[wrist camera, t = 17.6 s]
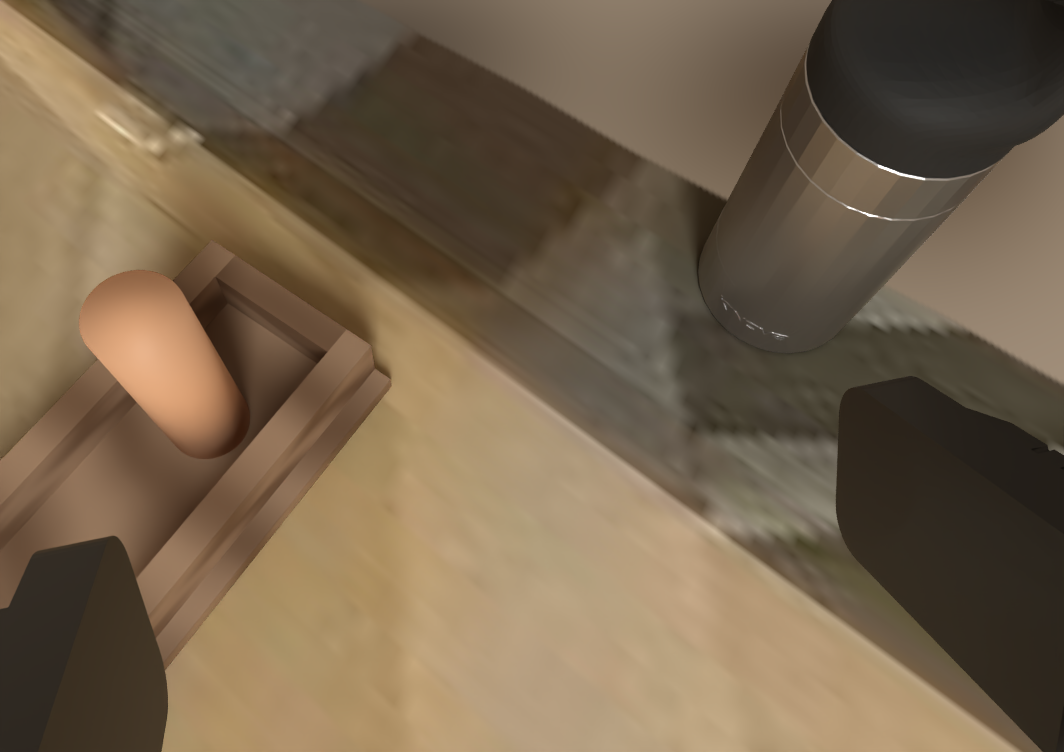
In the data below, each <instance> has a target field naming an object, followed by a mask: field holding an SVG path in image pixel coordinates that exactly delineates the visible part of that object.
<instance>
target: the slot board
mask: <svg viewBox="0 0 1064 752" xmlns="http://www.w3.org/2000/svg"><path fill="white" fill-rule="evenodd" d="M173 282H174V283H175V284H176V285H177V286H178V287H179V288H180V290H181V291H182V293H183V294H184V296H185V298H186V300H187V301H188V303H189V305H190V306H191V308H192V310H193V312H194V313H195V315H196V317H197V318H198V320H199V322H200V324H201V325H202V327H203V329H204V330H205V332H206V334H207V336H208V337H209V339H210V341H211V342H212V344H213V346H214V348H215V349H216V351H217V353H218V354H219V356H220V358H221V360H222V361H223V363H224V365H225V366H226V368H227V370H228V372H229V373H230V375H231V377H232V378H233V380H234V382H235V384H236V385H237V387H238V389H239V390H240V392H241V394H242V396H243V397H244V399H245V401H246V403H247V405H248V407H249V411H250V425H249V429H248V431H247V434H246V435H245V437H244V439H243V440H242V442H241V443H240V444H239V445H238V446H237V447H236V448H235V449H233V450H232V451H230V452H229V453H227V454H225V455H223V456H220V457H217V458H213V459H198V458H194V457H190V456H188V455H186V454H184V453H183V452H181V451H180V450H179V449H178V448H177V447H176V446H175V445H174V444H173V443H172V441H171V440H170V439H169V438H168V437H167V436H166V435H165V434H164V432H163V431H162V430H161V429H160V428H159V427H158V426H157V425H156V423H155V422H154V421H153V420H152V419H151V418H150V417H149V416H148V414H147V413H146V412H145V411H144V410H143V409H142V408H141V407H140V405H139V404H138V403H137V402H136V401H135V400H134V399H133V398H132V396H131V395H130V394H129V393H128V392H127V391H126V390H125V388H124V387H123V386H122V385H121V384H120V383H119V382H118V381H117V379H116V378H115V377H114V376H113V375H112V374H111V373H110V372H109V370H108V369H107V368H106V367H105V366H104V365H103V364H102V363H101V361H100V360H99V359H97V360H96V361H95V362H94V363H93V364H92V365H91V367H90V368H89V369H88V370H87V371H86V372H85V373H84V374H83V375H82V376H81V377H80V378H79V379H78V380H77V381H76V382H75V383H74V384H73V385H72V386H71V387H70V388H69V389H68V391H67V392H66V393H65V394H64V395H63V396H62V397H61V398H60V399H59V400H58V401H57V402H56V403H55V404H54V405H53V406H52V407H51V408H50V409H49V410H48V411H47V412H46V413H45V414H44V416H43V417H42V418H41V419H40V420H39V421H38V422H37V423H36V424H35V425H34V426H33V427H32V428H31V429H30V430H29V431H28V432H27V433H26V434H25V435H24V436H23V437H22V438H21V440H20V441H19V442H18V443H17V444H16V445H15V446H14V447H13V448H12V449H11V450H10V451H9V452H8V453H7V454H6V455H5V456H4V457H3V458H2V459H1V460H0V609H2V608H7V607H9V605H10V602H11V600H12V598H13V596H14V594H15V591H16V589H17V587H18V585H19V583H20V580H21V578H22V576H23V574H24V571H25V569H26V567H27V565H28V563H29V560H30V558H31V557H32V555H33V554H34V553H35V552H36V551H39V550H44V549H49V548H54V547H59V546H64V545H69V544H74V543H79V542H84V541H89V540H94V539H98V538H103V537H108V536H116V537H118V538H119V539H120V540H121V542H122V543H123V545H124V547H125V549H126V551H127V554H128V556H129V559H130V562H131V565H132V568H133V571H134V574H135V577H136V580H137V583H138V586H139V589H140V592H141V595H142V598H143V601H144V605H145V608H146V611H147V614H148V617H149V620H150V623H151V626H152V629H153V632H154V635H155V638H156V641H157V644H158V647H159V650H160V653H161V656H162V660H163V664H164V669H166V668H167V667H168V666H169V664H170V663H171V662H172V661H173V659H174V658H175V657H176V656H177V654H178V653H179V652H180V651H181V649H182V648H183V647H184V646H185V644H186V643H187V642H188V641H189V639H190V638H191V637H192V636H193V634H194V633H195V632H196V631H197V629H198V628H199V627H200V626H201V624H202V623H203V622H204V621H205V619H206V618H207V617H208V616H209V614H210V613H211V612H212V611H213V609H214V608H215V607H216V606H217V604H218V603H219V602H220V601H221V599H222V598H223V597H224V596H225V594H226V593H227V592H228V590H229V589H230V588H231V587H232V585H233V584H234V583H235V582H236V580H237V579H238V578H239V577H240V575H241V574H242V573H243V572H244V570H245V569H246V568H247V567H248V565H249V564H250V563H251V562H252V560H253V559H254V558H255V557H256V555H257V554H258V553H259V552H260V550H261V549H262V548H263V547H264V545H265V544H266V543H267V542H268V540H269V539H270V538H271V537H272V535H273V534H274V533H275V532H276V530H277V529H278V528H279V527H280V525H281V524H282V523H283V522H284V520H285V519H286V518H287V517H288V515H289V514H290V513H291V511H292V510H293V509H294V508H295V506H296V505H297V504H298V503H299V501H300V500H301V499H302V498H303V496H304V495H305V494H306V493H307V491H308V490H309V489H310V488H311V486H312V485H313V484H314V483H315V481H316V480H317V479H318V478H319V476H320V475H321V474H322V473H323V471H324V470H325V469H326V468H327V466H328V465H329V464H330V463H331V461H332V460H333V459H334V458H335V456H336V455H337V454H338V453H339V451H340V450H341V449H342V448H343V446H344V445H345V444H346V443H347V441H348V440H349V439H350V437H351V436H352V435H353V434H354V432H355V431H356V430H357V429H358V427H359V426H360V425H361V424H362V422H363V421H364V420H365V419H366V417H367V416H368V415H369V414H370V412H371V411H372V410H373V409H374V407H375V406H376V405H377V404H378V402H379V401H380V400H381V399H382V397H383V396H384V395H385V394H386V392H387V391H388V390H389V389H390V387H391V379H390V378H388V377H387V376H385V375H384V374H382V373H381V372H379V371H378V370H376V369H375V366H374V360H373V354H372V347H371V345H370V344H368V343H367V342H365V341H364V340H362V339H361V338H359V337H358V336H356V335H355V334H353V333H352V332H350V331H349V330H347V329H346V328H344V327H342V326H341V325H339V324H338V323H336V322H335V321H333V320H332V319H330V318H329V317H327V316H326V315H324V314H323V313H321V312H320V311H318V310H317V309H315V308H314V307H312V306H311V305H309V304H308V303H306V302H305V301H303V300H302V299H300V298H299V297H297V296H296V295H294V294H293V293H291V292H290V291H288V290H287V289H285V288H284V287H282V286H281V285H279V284H278V283H276V282H275V281H273V280H272V279H270V278H269V277H267V276H266V275H264V274H263V273H261V272H260V271H258V270H257V269H255V268H254V267H252V266H251V265H249V264H248V263H246V262H245V261H243V260H242V259H240V258H239V257H237V256H236V255H234V254H233V253H231V252H230V251H228V250H227V249H225V248H224V247H222V246H221V245H219V244H218V243H216V242H215V241H213V240H211V241H210V242H209V243H208V244H207V246H206V247H205V248H204V249H203V250H202V251H201V252H200V253H199V254H198V255H197V256H196V257H195V258H194V259H193V260H192V261H191V262H190V263H189V264H188V265H187V266H186V267H185V268H184V270H183V271H182V272H181V273H180V274H179V275H178V276H177V277H176V278H175V279H174V280H173Z"/></svg>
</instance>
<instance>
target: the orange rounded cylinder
mask: <svg viewBox="0 0 1064 752" xmlns="http://www.w3.org/2000/svg"><path fill="white" fill-rule="evenodd" d="M79 328H80V333H81V336H82V338H83V341H84V342H85V344H86V345H87V347H88V348H89V349H90V350H91V351H92V352H93V354H94V355H95V356H96V357H97V358H98V359H99V360H100V361H101V363H102V364H103V365H104V366H105V367H106V368H107V369H108V370H109V372H110V373H111V374H112V375H113V376H114V377H115V378H116V379H117V381H118V382H119V383H120V384H121V385H122V386H123V387H124V388H125V390H126V391H127V392H128V393H129V394H130V395H131V396H132V398H133V399H134V400H135V401H136V402H137V403H138V404H139V405H140V407H141V408H142V409H143V410H144V411H145V412H146V413H147V414H148V416H149V417H150V418H151V419H152V420H153V421H154V422H155V423H156V425H157V426H158V427H159V428H160V429H161V430H162V431H163V432H164V434H165V435H166V436H167V437H168V438H169V439H170V440H171V441H172V443H173V444H174V445H175V446H176V447H177V448H178V449H179V450H180V451H181V452H183V453H184V454H186V455H188V456H190V457H194V458H198V459H213V458H217V457H220V456H223V455H225V454H227V453H229V452H230V451H232V450H233V449H235V448H236V447H237V446H238V445H239V444H240V443H241V442H242V440H243V439H244V437H245V435H246V434H247V431H248V429H249V425H250V411H249V407H248V405H247V403H246V401H245V399H244V397H243V396H242V394H241V392H240V390H239V389H238V387H237V385H236V384H235V382H234V380H233V378H232V377H231V375H230V373H229V372H228V370H227V368H226V366H225V365H224V363H223V361H222V360H221V358H220V356H219V354H218V353H217V351H216V349H215V348H214V346H213V344H212V342H211V341H210V339H209V337H208V336H207V334H206V332H205V330H204V329H203V327H202V325H201V324H200V322H199V320H198V318H197V317H196V315H195V313H194V312H193V310H192V308H191V306H190V305H189V303H188V301H187V300H186V298H185V296H184V294H183V293H182V291H181V290H180V288H179V287H178V286H177V285H176V284H175V283H174V282H173V281H172V280H170V279H169V278H167V277H166V276H164V275H162V274H159V273H156V272H152V271H146V270H134V271H127V272H123V273H119V274H116V275H114V276H112V277H110V278H108V279H106V280H105V281H103V282H102V283H100V284H99V285H98V286H97V287H96V288H95V289H94V290H93V291H92V292H91V293H90V294H89V296H88V297H87V298H86V300H85V302H84V304H83V306H82V309H81V312H80V317H79Z"/></svg>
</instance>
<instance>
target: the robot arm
mask: <svg viewBox="0 0 1064 752" xmlns="http://www.w3.org/2000/svg"><path fill="white" fill-rule="evenodd" d="M1063 115H1064V0H832V1H831V3H830V5H829V6H828V8H827V9H826V11H825V13H824V15H823V17H822V19H821V21H820V23H819V25H818V27H817V29H816V31H815V33H814V34H813V36H812V39H811V41H810V43H809V46H808V47H807V50H806V51H805V53H804V55H803V57H802V59H801V61H800V63H799V64H798V67H797V68H796V70H795V72H794V74H793V76H792V78H791V80H790V82H789V84H788V86H787V88H786V90H785V92H784V94H783V96H782V98H781V100H780V102H779V104H778V106H777V108H776V110H775V112H774V113H773V115H772V117H771V119H770V121H769V123H768V125H767V127H766V128H765V130H764V132H763V134H762V136H761V138H760V140H759V142H758V144H757V146H756V148H755V149H754V151H753V153H752V155H751V157H750V159H749V161H748V163H747V165H746V167H745V169H744V171H743V173H742V174H741V176H740V178H739V180H738V182H737V184H736V186H735V188H734V190H733V191H732V193H731V195H730V197H729V199H728V201H727V203H726V205H725V206H724V208H723V210H722V212H721V214H720V216H719V218H718V220H717V222H716V224H715V225H714V227H713V229H712V231H711V233H710V235H709V237H708V239H707V241H706V243H705V245H704V248H703V250H702V253H701V255H700V260H699V268H698V275H699V284H700V289H701V292H702V295H703V297H704V300H705V303H706V304H707V306H708V308H709V309H710V311H711V312H712V314H713V316H714V317H715V318H716V319H717V320H718V321H719V322H720V324H721V325H722V326H723V327H724V328H725V329H726V330H728V331H729V332H730V333H732V334H733V335H734V336H736V337H737V338H738V339H740V340H742V341H744V342H746V343H748V344H750V345H752V346H754V347H757V348H760V349H763V350H767V351H770V352H779V353H796V352H805V351H808V350H811V349H814V348H817V347H820V346H821V345H823V344H825V343H826V342H828V341H829V340H831V339H833V338H834V337H835V336H836V334H837V333H838V332H839V331H840V330H841V329H842V328H843V327H844V326H845V325H846V324H847V323H848V322H849V321H850V320H851V319H852V318H853V317H854V316H855V315H856V314H857V313H858V312H859V311H860V310H861V309H862V308H863V306H865V305H866V304H867V303H868V302H869V301H870V300H871V298H872V297H873V296H874V295H875V294H876V293H877V292H878V291H879V290H880V289H881V288H882V287H883V286H884V285H885V284H886V283H887V282H888V280H889V279H890V278H891V277H892V276H893V275H894V274H895V273H896V272H897V271H898V270H899V269H900V268H901V267H902V265H904V263H905V262H906V261H907V260H908V259H909V258H910V257H911V256H912V255H913V254H914V253H915V252H916V251H917V250H918V249H919V248H920V246H921V245H922V244H923V243H924V242H925V241H926V240H927V239H928V238H929V237H930V236H931V235H932V234H933V233H934V231H936V229H937V228H938V227H939V226H940V225H941V224H942V223H943V222H944V221H945V220H946V219H947V218H948V217H949V216H950V215H951V214H952V213H953V211H954V210H955V209H956V208H957V207H958V206H959V205H960V204H961V203H962V202H963V201H964V200H965V199H966V198H967V196H968V195H969V194H970V193H971V192H972V191H973V190H974V189H975V188H976V187H977V185H978V184H979V183H980V182H981V181H982V180H983V179H984V178H985V177H986V176H987V175H988V174H989V173H990V172H991V171H992V170H993V168H994V167H995V166H996V165H997V164H998V163H999V162H1000V161H1001V160H1002V159H1003V158H1004V157H1005V155H1006V154H1007V153H1009V151H1010V150H1011V149H1012V148H1013V147H1014V146H1016V145H1019V144H1022V143H1024V142H1026V141H1028V140H1030V139H1032V138H1034V137H1036V136H1037V135H1039V134H1040V133H1042V132H1044V131H1045V130H1046V129H1048V128H1049V127H1050V126H1051V125H1053V124H1054V123H1055V122H1056V121H1057V120H1058V119H1059V118H1060V117H1062V116H1063ZM1047 446H1048V445H1046V444H1045V443H1043V442H1041V441H1040V440H1038V439H1037V438H1035V437H1033V436H1032V435H1030V434H1028V433H1027V432H1025V431H1024V430H1022V429H1020V428H1019V427H1017V426H1015V425H1014V424H1012V423H1010V422H1007V421H1004V420H1001V419H998V418H995V417H992V416H989V415H986V414H983V413H980V412H977V411H974V410H971V409H968V408H965V407H964V406H962V405H960V404H959V403H957V402H956V401H954V400H953V399H951V398H950V397H948V396H946V395H945V394H943V393H942V392H940V391H939V390H937V389H935V388H934V387H932V386H931V385H929V384H928V383H926V382H924V381H923V380H921V379H919V378H917V377H913V376H908V377H903V378H898V379H893V380H888V381H883V382H878V383H873V384H868V385H863V386H858V387H853V388H850V389H848V390H847V391H846V392H845V394H844V395H843V397H842V400H841V404H840V410H839V433H838V459H837V485H836V514H837V520H838V524H839V528H840V531H841V534H842V537H843V539H844V541H845V543H846V545H847V547H848V549H849V551H850V552H851V553H852V555H853V556H854V557H855V558H856V560H857V561H858V562H859V563H860V564H861V565H862V566H863V567H864V568H865V569H866V570H867V571H868V572H869V573H870V574H871V575H872V576H873V577H874V578H875V579H876V580H877V581H878V582H879V583H880V584H881V585H882V586H883V587H884V588H885V590H886V591H887V592H888V593H889V594H890V595H891V596H892V597H893V598H894V599H895V600H896V601H897V602H898V603H899V604H900V605H901V606H902V607H903V608H904V609H905V610H906V611H907V612H908V613H909V614H910V615H911V616H912V617H913V618H914V619H915V620H916V621H917V622H918V624H919V625H920V626H921V627H922V628H923V629H924V630H925V631H926V632H927V633H928V634H929V635H930V636H931V637H932V638H933V639H934V640H935V641H936V642H937V643H938V644H939V645H940V646H941V647H942V648H943V649H944V650H945V651H946V652H947V653H948V654H949V655H950V656H951V658H952V659H953V660H954V661H955V662H956V663H957V664H958V665H959V666H960V667H961V668H962V669H963V670H964V671H965V672H966V673H967V674H968V675H969V676H970V677H971V678H972V679H973V680H974V681H975V682H976V683H977V684H978V685H979V686H980V687H981V688H982V689H983V690H984V691H985V693H986V694H987V695H988V696H989V697H990V698H991V699H992V700H993V701H994V702H995V703H996V704H997V705H998V706H999V707H1000V708H1001V709H1002V710H1003V711H1004V712H1005V713H1006V714H1007V715H1008V716H1009V717H1010V718H1011V719H1012V720H1013V721H1014V722H1015V723H1016V724H1017V725H1018V727H1019V728H1020V729H1021V730H1022V731H1023V732H1024V733H1025V734H1026V735H1027V736H1028V737H1029V738H1030V739H1031V740H1032V741H1033V742H1034V743H1035V744H1036V745H1037V746H1038V747H1039V748H1040V749H1041V750H1042V751H1043V752H1064V455H1062V454H1061V453H1059V452H1058V451H1056V450H1051V451H1049V450H1048V447H1047ZM167 713H168V693H167V682H166V675H165V669H164V664H163V660H162V656H161V653H160V650H159V647H158V644H157V641H156V638H155V635H154V632H153V629H152V626H151V623H150V620H149V617H148V614H147V611H146V608H145V605H144V601H143V598H142V595H141V592H140V589H139V586H138V583H137V580H136V577H135V574H134V571H133V568H132V565H131V562H130V559H129V556H128V554H127V551H126V549H125V547H124V545H123V543H122V542H121V540H120V539H119V538H118V537H116V536H108V537H103V538H98V539H94V540H89V541H84V542H79V543H74V544H69V545H64V546H59V547H54V548H49V549H44V550H39V551H36V552H35V553H34V554H33V555H32V557H31V558H30V560H29V563H28V565H27V567H26V569H25V571H24V574H23V576H22V578H21V580H20V583H19V585H18V587H17V589H16V591H15V594H14V596H13V598H12V600H11V602H10V605H9V607H7V608H2V609H0V752H161V751H162V745H163V739H164V733H165V727H166V721H167Z"/></svg>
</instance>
